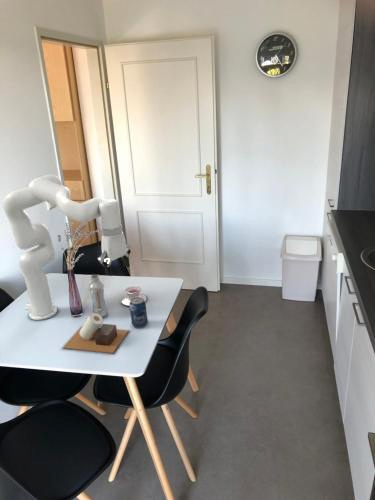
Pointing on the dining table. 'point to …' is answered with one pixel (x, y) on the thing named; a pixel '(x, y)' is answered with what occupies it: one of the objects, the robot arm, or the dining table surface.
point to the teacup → (132, 294)
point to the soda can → (138, 312)
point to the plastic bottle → (98, 296)
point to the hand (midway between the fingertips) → (117, 270)
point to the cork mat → (94, 343)
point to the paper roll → (91, 326)
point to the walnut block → (105, 334)
